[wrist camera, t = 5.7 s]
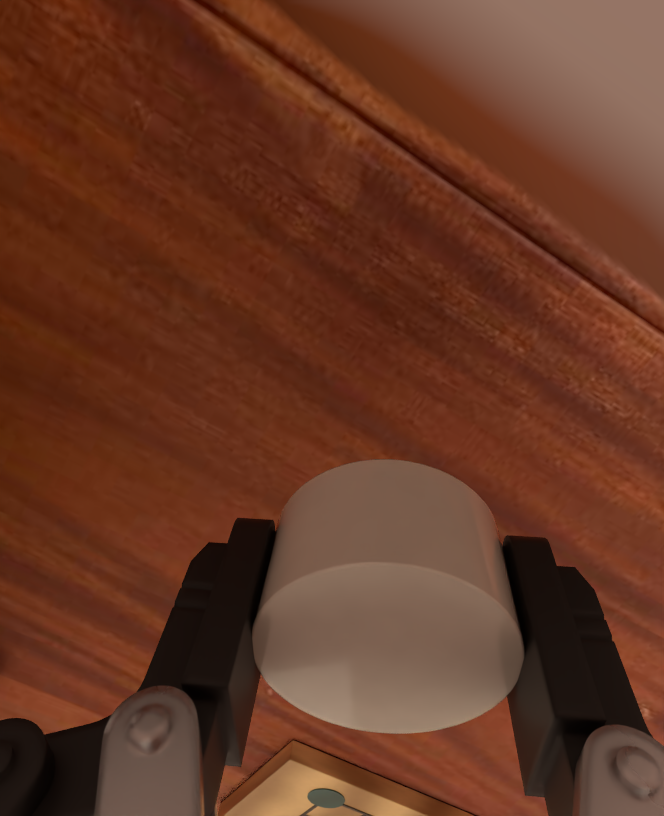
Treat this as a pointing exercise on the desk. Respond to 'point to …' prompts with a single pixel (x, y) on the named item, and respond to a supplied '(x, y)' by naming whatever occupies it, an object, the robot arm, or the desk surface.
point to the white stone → (388, 601)
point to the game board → (325, 790)
